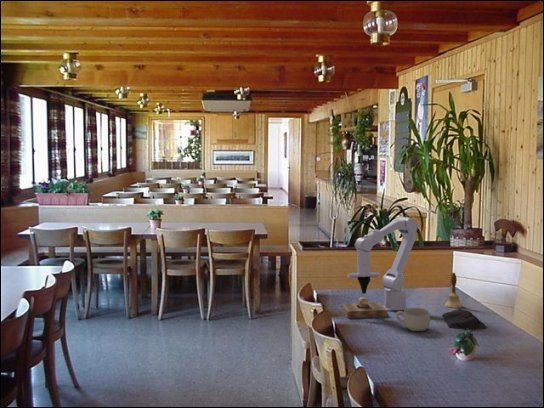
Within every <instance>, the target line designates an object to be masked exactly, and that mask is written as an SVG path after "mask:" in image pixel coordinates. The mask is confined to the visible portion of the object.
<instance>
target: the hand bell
mask: <svg viewBox="0 0 544 408" xmlns="http://www.w3.org/2000/svg"><path fill="white" fill-rule="evenodd" d="M450 284H451V293H449V294H448V300H447V301H446V302H445V304H444V307H446V308H451V309H462V308H463V307H464V305H463V303H461V301H460V296H459V294H458V293H456V286H457V275H456V272H452V273H451V276H450Z"/></svg>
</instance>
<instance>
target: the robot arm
mask: <svg viewBox="0 0 544 408" xmlns="http://www.w3.org/2000/svg"><path fill="white" fill-rule="evenodd" d="M418 228H419V224H418V222H417V220H416V218H415V217H407V216H401V215H399V216H397V217H395V218H394V219H393V220H392V221H391V222H389V223H388V224H387V225H385V226H383V227H382V228H381V229H372V230H371V232H369V233H368V234H364V236H363V237H358V238H357V239H355V243H354V248H355V249H356V256H357V258H356V260H357V263H356V265H357V267H356V268H357V270H356V271H357V272H351V273H347V279H357V281H358V283H359V286H360V291H361V293H362V294H363V295H364V294H366V293H367V289H368V286H369V284H370V282H371V278H380V277H381V276H380V275H381V273H380V272H373V271H371V250H372V249H373V246H375V245H377V244H378V243H381V242H382V241H383V239H384V237H386V236H387V235H389V234H391V233H393V232H395V231H397V230H398V232H399V233H400V234H401V236H402V240H401V243H400V245H399V248H398V250H397V253H396V256H395V258H394V260H393V263H392V266H391V268H389V269H388V270H386V272H385V274H384V275H383V276H382V277H381V285H382V286H383V290H384V305H383V306H384V307H385V309H386V310H387V312H388V311H390V312H391V311H404V310H405V309H407V308H406V307H407V306H406V302H407V301H406V300H407V298H406V296H407V295H406V290H404V289H403V288H404V285H405V284H404V283H405V276H404V273H403V272H404V270H405V267H406V264H407V262H408V260H409V257H410V254H411V251H412V249H413V247H414V244H415V241H416V239H417V231H418Z"/></svg>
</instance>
